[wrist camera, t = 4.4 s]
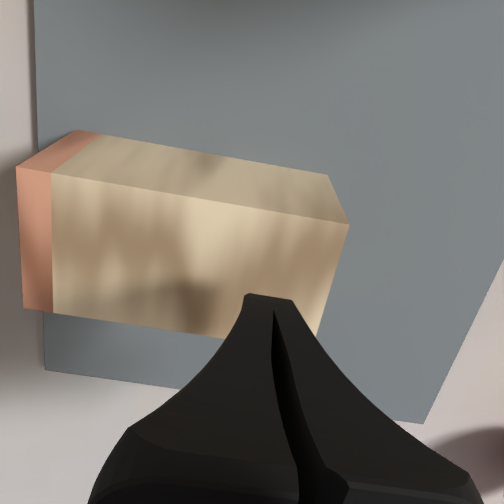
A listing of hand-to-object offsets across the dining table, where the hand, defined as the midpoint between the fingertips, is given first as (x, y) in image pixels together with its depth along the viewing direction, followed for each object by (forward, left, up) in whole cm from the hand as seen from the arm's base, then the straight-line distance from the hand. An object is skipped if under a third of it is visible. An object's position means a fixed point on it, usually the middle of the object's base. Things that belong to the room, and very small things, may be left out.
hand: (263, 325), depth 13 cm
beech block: (0, -2, -5) cm, 5 cm away
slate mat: (0, -1, -8) cm, 8 cm away
